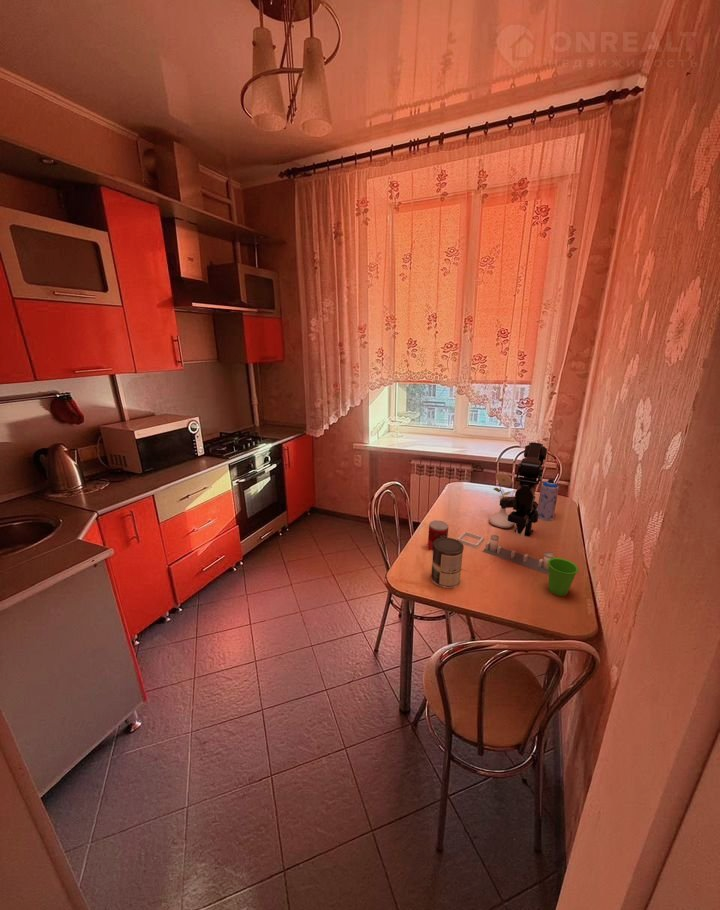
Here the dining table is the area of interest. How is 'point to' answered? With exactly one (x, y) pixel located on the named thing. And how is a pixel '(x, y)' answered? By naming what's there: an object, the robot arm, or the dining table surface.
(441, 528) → the canned food
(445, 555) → the coffee can
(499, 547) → the fuse block
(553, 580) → the cup
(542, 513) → the aerosol can
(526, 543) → the dining table surface
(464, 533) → the tray
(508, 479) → the flower in vase
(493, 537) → the cylinder
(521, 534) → the cylinder
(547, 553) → the cylinder
